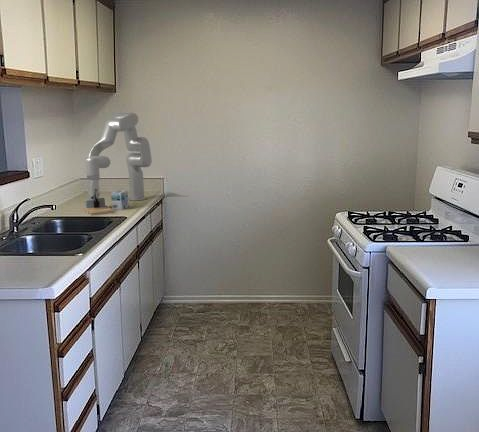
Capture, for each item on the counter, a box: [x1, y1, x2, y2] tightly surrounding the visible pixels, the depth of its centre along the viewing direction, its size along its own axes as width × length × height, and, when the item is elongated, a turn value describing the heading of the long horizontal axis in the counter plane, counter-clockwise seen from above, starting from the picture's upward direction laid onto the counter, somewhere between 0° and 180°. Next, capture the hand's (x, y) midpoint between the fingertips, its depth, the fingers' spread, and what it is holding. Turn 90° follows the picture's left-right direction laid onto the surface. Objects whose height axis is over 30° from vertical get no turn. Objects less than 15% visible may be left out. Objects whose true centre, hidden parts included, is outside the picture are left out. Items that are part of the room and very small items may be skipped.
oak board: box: [82, 204, 116, 216], centre depth 337 cm, size 22×14×2 cm, turn 27°
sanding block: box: [85, 197, 106, 209], centre depth 342 cm, size 6×11×5 cm, turn 110°
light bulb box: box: [110, 189, 129, 211], centre depth 344 cm, size 11×7×11 cm, turn 168°
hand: (95, 206), depth 343 cm, fingers closed on sanding block, 6 cm apart
